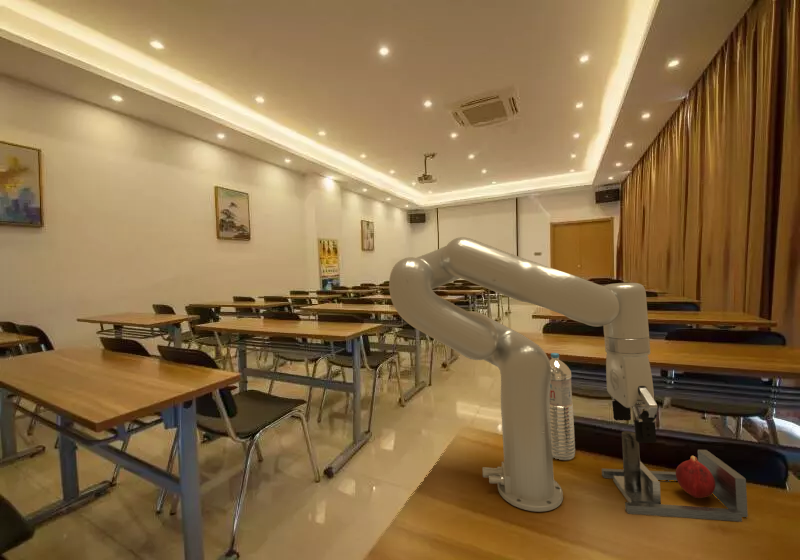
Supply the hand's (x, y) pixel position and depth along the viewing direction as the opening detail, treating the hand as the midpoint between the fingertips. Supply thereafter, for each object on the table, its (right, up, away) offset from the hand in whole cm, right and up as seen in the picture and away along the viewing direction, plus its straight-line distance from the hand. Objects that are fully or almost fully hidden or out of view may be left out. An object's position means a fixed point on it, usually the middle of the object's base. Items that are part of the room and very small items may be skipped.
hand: (633, 430), depth 68 cm
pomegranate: (+11, -13, -2) cm, 17 cm away
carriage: (0, -13, 0) cm, 13 cm away
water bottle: (-7, -13, +16) cm, 22 cm away
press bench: (+6, -13, -1) cm, 14 cm away
